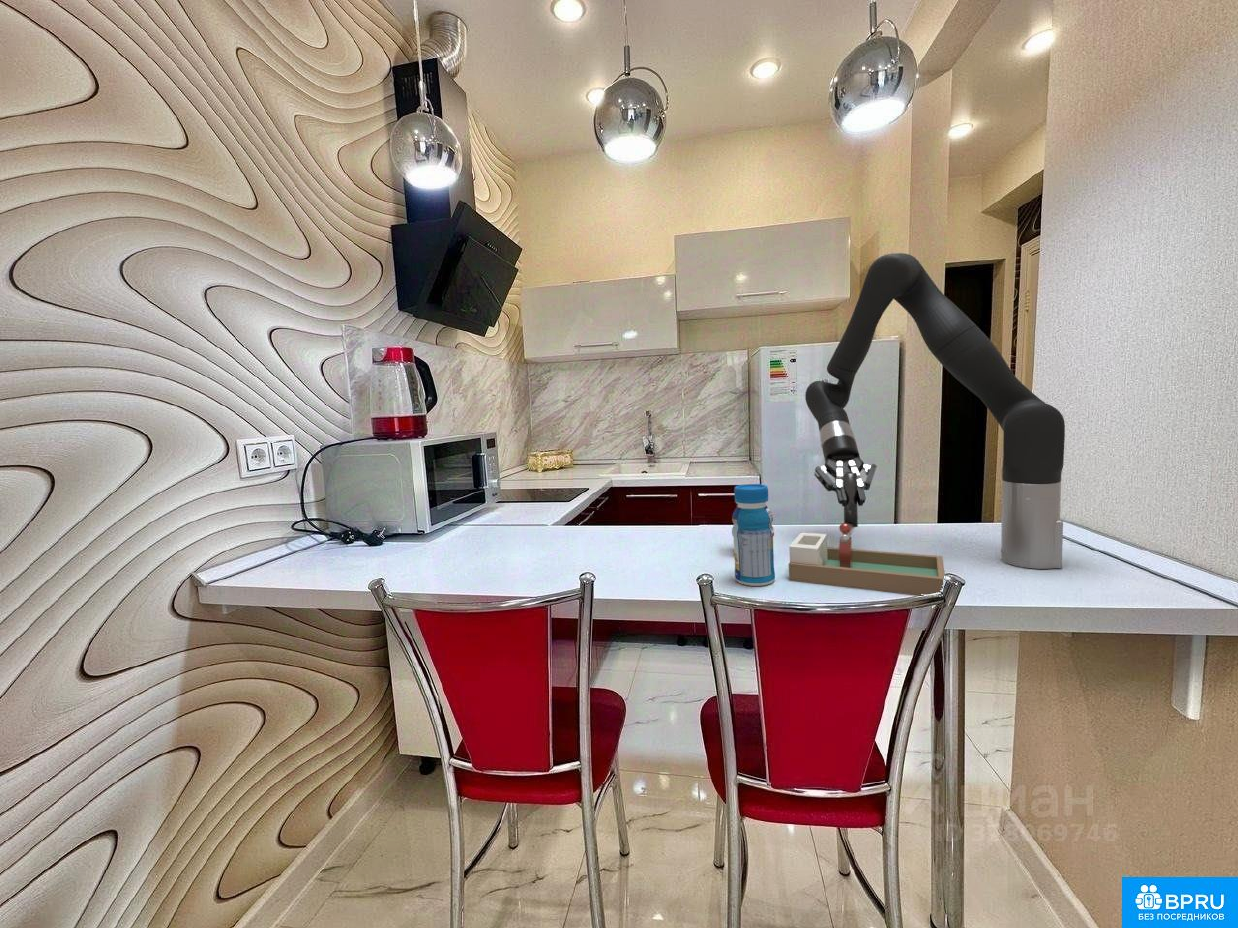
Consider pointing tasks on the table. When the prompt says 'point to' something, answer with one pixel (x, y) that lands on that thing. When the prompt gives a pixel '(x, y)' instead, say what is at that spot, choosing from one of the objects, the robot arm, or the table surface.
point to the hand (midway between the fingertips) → (853, 503)
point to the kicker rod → (848, 519)
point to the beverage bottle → (753, 536)
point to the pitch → (864, 568)
